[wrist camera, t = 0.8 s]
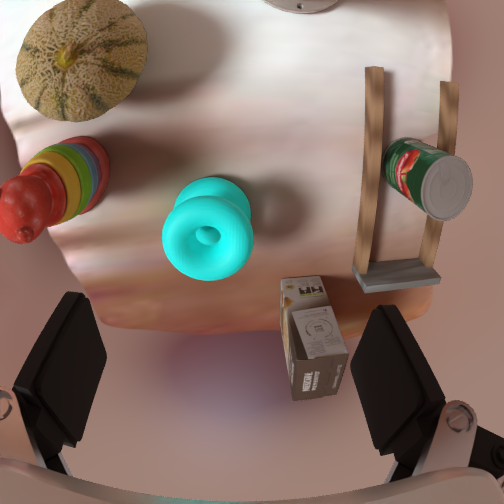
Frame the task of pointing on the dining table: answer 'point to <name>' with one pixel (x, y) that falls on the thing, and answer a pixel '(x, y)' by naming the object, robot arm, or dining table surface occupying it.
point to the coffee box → (311, 339)
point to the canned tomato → (428, 177)
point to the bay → (383, 272)
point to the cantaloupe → (81, 59)
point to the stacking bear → (53, 188)
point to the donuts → (209, 230)
